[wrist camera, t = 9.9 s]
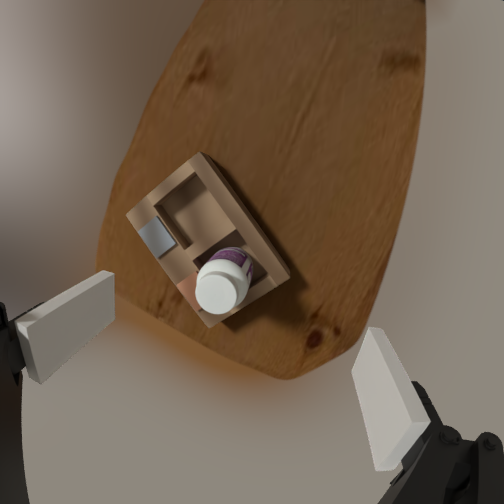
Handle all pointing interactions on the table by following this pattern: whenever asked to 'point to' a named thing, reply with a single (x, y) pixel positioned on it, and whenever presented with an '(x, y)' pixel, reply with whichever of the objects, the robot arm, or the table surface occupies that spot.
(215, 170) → the socket block
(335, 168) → the table surface
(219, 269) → the pill bottle
